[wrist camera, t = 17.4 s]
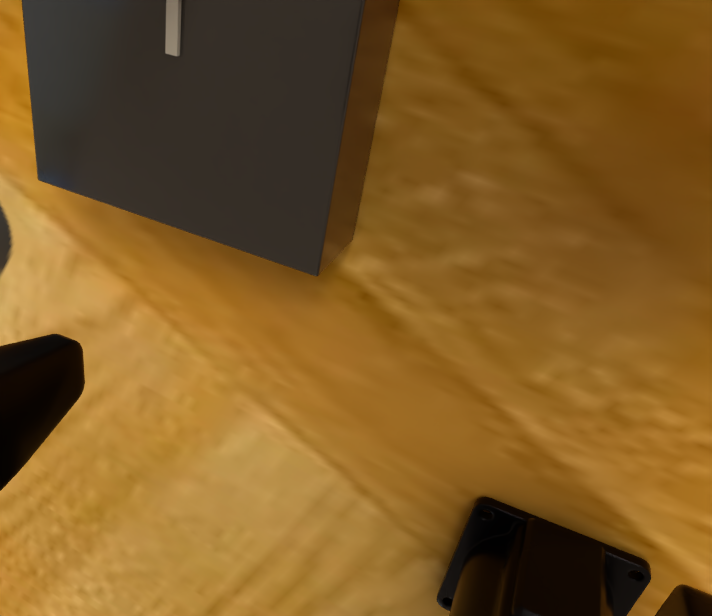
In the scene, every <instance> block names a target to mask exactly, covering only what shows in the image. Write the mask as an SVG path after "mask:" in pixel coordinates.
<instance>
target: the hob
mask: <svg viewBox="0 0 712 616" xmlns="http://www.w3.org/2000/svg"><path fill="white" fill-rule="evenodd" d="M399 1H400V0H22V10H23V21H24V32H25V43H26V54H27V65H28V76H29V87H30V98H31V109H32V120H33V131H34V142H35V153H36V164H37V175H38V180H39V181H42V182H45V183H48V184H51V185H54V186H56V187H59V188H62V189H65V190H68V191H71V192H74V193H77V194H80V195H82V196H85V197H88V198H91V199H94V200H97V201H100V202H103V203H105V204H108V205H111V206H114V207H117V208H120V209H123V210H126V211H129V212H131V213H134V214H137V215H140V216H143V217H146V218H149V219H152V220H155V221H157V222H160V223H163V224H166V225H169V226H172V227H175V228H178V229H181V230H183V231H186V232H189V233H192V234H195V235H198V236H201V237H204V238H207V239H209V240H212V241H215V242H218V243H221V244H224V245H227V246H230V247H233V248H235V249H238V250H241V251H244V252H247V253H250V254H253V255H256V256H258V257H261V258H264V259H267V260H270V261H273V262H276V263H279V264H282V265H284V266H287V267H290V268H293V269H296V270H299V271H302V272H305V273H308V274H310V275H313V276H319V275H320V273H321V272H322V271H323V270H324V269H325V268H326V267H327V266H328V265H329V264H330V263H331V262H332V261H333V260H334V259H335V258H336V257H337V256H338V255H339V254H340V253H341V252H342V251H343V250H344V249H345V248H346V247H347V245H348V244H349V243H350V242H351V241H352V240H353V235H354V230H355V225H356V220H357V215H358V210H359V205H360V200H361V194H362V189H363V184H364V179H365V174H366V169H367V164H368V159H369V154H370V149H371V144H372V138H373V133H374V128H375V123H376V118H377V113H378V108H379V103H380V98H381V93H382V87H383V82H384V77H385V72H386V67H387V62H388V57H389V52H390V47H391V42H392V37H393V31H394V26H395V21H396V16H397V11H398V6H399Z"/></svg>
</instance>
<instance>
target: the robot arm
mask: <svg viewBox="0 0 712 616" xmlns="http://www.w3.org/2000/svg"><path fill="white" fill-rule="evenodd" d="M84 384H85V378H84V362H83V349H82V347H81V345H80V343H78V342H77V341H75V340H72V339H70V338H67V337H65V336H62V335H59V334H51V335H47V336H42V337H38V338H34V339H29V340H25V341H21V342H16V343H12V344H8V345H3V346H0V491H1V490H2V489H3V488H4V487H5V486H6V485H7V484H8V482H9V481H10V480H11V479H12V478H13V477H14V476H15V475H16V474H17V473H18V472H19V471H20V469H21V468H22V467H23V466H24V465H25V464H26V463H27V461H28V460H29V459H30V458H31V457H32V455H33V454H34V453H35V452H36V450H37V449H38V448H39V447H40V445H41V444H42V443H43V442H44V441H45V439H46V438H47V437H48V436H49V434H50V433H51V432H52V431H53V430H54V428H55V427H56V426H57V425H58V423H59V422H60V421H61V420H62V418H63V417H64V416H65V415H66V414H67V412H68V411H69V410H70V409H71V407H72V406H73V405H74V404H75V403H76V401H77V400H78V399H79V397H80V396H81V394H82V392H83V389H84ZM484 510H488V511H490V513H489V512H485V511H484ZM633 570H635V571H639V572H633ZM650 580H651V569H650V565H649V564H648V563H647V562H646V561H645V560H643V559H642V558H639V557H637V556H634V555H632V554H629V553H627V552H624V551H622V550H619V549H617V548H614V547H612V546H609V545H607V544H604V543H602V542H599V541H597V540H594V539H592V538H589V537H587V536H584V535H582V534H579V533H577V532H574V531H572V530H569V529H567V528H564V527H562V526H559V525H557V524H554V523H552V522H549V521H547V520H544V519H542V518H539V517H537V516H534V515H532V514H529V513H527V512H524V511H522V510H519V509H517V508H514V507H512V506H509V505H507V504H504V503H502V502H499V501H497V500H494V499H492V498H488V497H481V498H479V499H477V500H476V501H475V503H474V506H473V508H472V511H471V513H470V515H469V518H468V520H467V523H466V525H465V528H464V530H463V532H462V535H461V537H460V540H459V542H458V545H457V547H456V550H455V552H454V554H453V557H452V559H451V562H450V564H449V567H448V569H447V571H446V574H445V576H444V579H443V581H442V584H441V586H440V589H439V592H438V595H437V602H438V604H439V605H440V606H441V607H443V608H445V609H447V610H449V611H450V614H449V616H626V615H627V614H628V612H629V611H630V610H631V608H632V607H633V605H634V604H635V602H636V601H637V599H638V598H639V597H640V595H641V594H642V592H643V591H644V589H645V588H646V587H647V585H648V584H649V582H650ZM655 616H712V595H710V594H708V593H705V592H703V591H700V590H698V589H695V588H693V587H690V586H688V585H679V586H677V587H676V588H675V589H674V590H673V591H672V592H671V594H670V595H669V597H668V598H667V599H666V601H665V602H664V604H663V605H662V606H661V608H660V609H659V611H658V612H657V613H656V615H655Z"/></svg>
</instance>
